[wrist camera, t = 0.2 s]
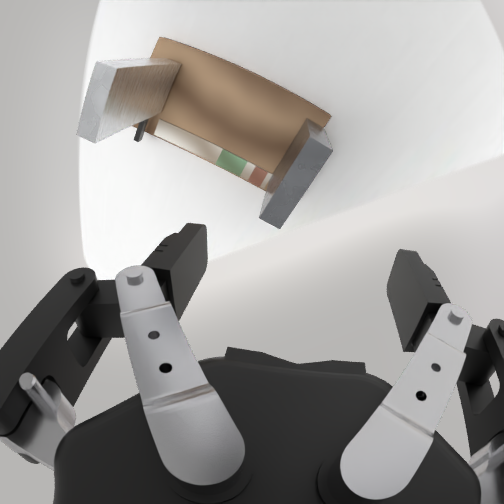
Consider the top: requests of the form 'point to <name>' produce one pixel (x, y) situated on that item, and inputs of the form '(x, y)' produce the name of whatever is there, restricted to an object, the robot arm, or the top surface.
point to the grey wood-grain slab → (295, 172)
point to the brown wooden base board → (228, 114)
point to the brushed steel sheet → (125, 96)
